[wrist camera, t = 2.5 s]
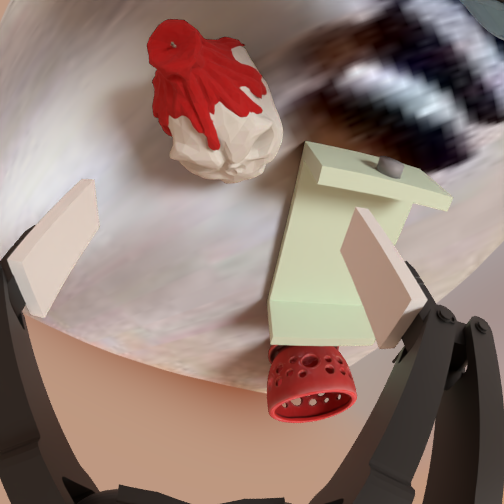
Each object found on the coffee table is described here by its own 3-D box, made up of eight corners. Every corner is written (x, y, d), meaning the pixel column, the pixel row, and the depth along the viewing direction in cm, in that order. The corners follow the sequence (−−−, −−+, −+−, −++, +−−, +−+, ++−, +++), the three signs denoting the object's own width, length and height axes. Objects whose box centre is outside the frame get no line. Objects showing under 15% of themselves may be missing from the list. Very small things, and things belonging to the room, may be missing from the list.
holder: (307, 129, 27) (326, 151, 21) (422, 159, 28) (457, 186, 23) (265, 308, 41) (268, 350, 36) (355, 312, 43) (368, 350, 37)
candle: (203, 197, 28) (98, 152, 13) (186, 101, 29) (104, 22, 14) (296, 172, 26) (265, 86, 11) (267, 74, 27) (223, -33, 12)
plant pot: (248, 354, 48) (250, 418, 39) (299, 309, 42) (312, 382, 32) (306, 372, 53) (314, 429, 43) (357, 335, 46) (375, 397, 37)
